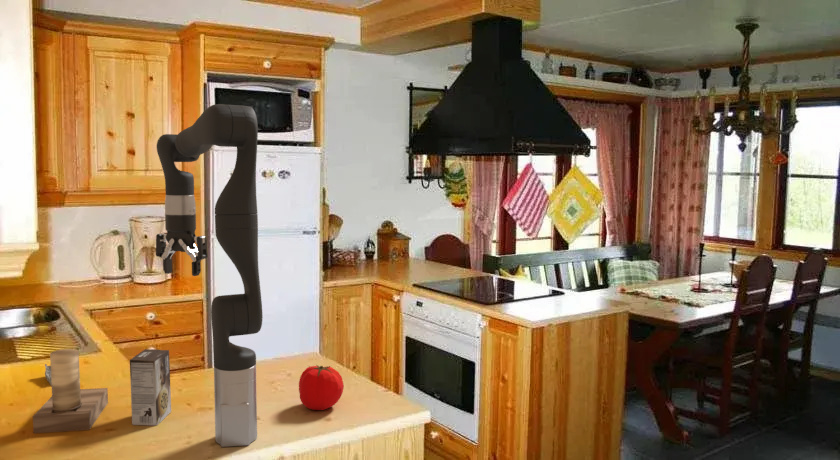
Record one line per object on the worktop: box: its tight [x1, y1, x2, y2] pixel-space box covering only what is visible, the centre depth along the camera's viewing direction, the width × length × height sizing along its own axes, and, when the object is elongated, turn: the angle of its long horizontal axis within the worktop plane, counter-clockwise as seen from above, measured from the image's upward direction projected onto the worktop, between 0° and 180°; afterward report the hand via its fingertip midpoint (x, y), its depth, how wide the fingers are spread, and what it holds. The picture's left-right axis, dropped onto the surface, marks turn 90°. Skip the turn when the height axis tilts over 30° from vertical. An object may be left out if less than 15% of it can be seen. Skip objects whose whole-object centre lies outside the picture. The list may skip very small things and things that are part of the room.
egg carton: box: [44, 363, 52, 386], centre depth 200 cm, size 11×8×4 cm
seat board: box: [32, 387, 109, 434], centre depth 171 cm, size 18×12×4 cm, turn 11°
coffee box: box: [129, 348, 172, 427], centre depth 170 cm, size 9×6×16 cm
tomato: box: [298, 364, 344, 411], centre depth 179 cm, size 12×12×11 cm
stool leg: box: [49, 348, 81, 412], centre depth 166 cm, size 6×6×17 cm
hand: (182, 274), depth 182 cm, fingers open, 8 cm apart
